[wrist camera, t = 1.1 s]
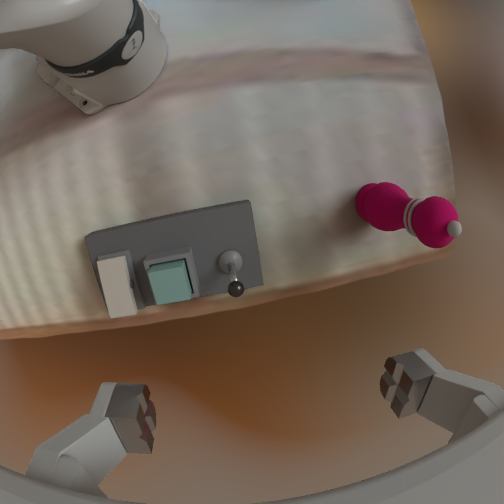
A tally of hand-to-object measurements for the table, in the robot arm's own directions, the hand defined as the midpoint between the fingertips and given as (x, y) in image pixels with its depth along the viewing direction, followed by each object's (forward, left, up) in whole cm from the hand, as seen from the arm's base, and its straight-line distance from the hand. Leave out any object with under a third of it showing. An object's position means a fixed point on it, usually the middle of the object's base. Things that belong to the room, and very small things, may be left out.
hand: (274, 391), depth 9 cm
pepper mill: (+19, +13, -35) cm, 42 cm away
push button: (-3, -10, -29) cm, 31 cm away
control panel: (-4, -9, -35) cm, 36 cm away
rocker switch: (-9, -15, -30) cm, 35 cm away
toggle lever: (+3, -5, -31) cm, 31 cm away
